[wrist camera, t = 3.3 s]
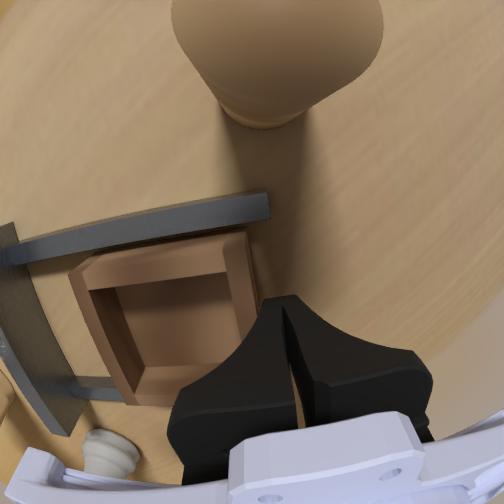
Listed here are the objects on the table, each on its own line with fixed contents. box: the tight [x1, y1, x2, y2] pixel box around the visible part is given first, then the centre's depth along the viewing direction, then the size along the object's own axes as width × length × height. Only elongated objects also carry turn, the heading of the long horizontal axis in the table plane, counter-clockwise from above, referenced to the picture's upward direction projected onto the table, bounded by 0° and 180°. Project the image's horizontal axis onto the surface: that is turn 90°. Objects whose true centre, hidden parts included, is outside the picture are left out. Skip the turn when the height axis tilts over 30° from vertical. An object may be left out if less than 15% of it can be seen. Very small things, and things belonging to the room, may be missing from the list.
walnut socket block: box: [68, 227, 260, 406], centre depth 12 cm, size 7×7×3 cm
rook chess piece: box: [82, 428, 140, 479], centre depth 14 cm, size 4×4×8 cm
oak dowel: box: [171, 0, 384, 129], centre depth 7 cm, size 4×4×8 cm
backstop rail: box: [0, 189, 292, 437], centre depth 12 cm, size 14×12×4 cm
